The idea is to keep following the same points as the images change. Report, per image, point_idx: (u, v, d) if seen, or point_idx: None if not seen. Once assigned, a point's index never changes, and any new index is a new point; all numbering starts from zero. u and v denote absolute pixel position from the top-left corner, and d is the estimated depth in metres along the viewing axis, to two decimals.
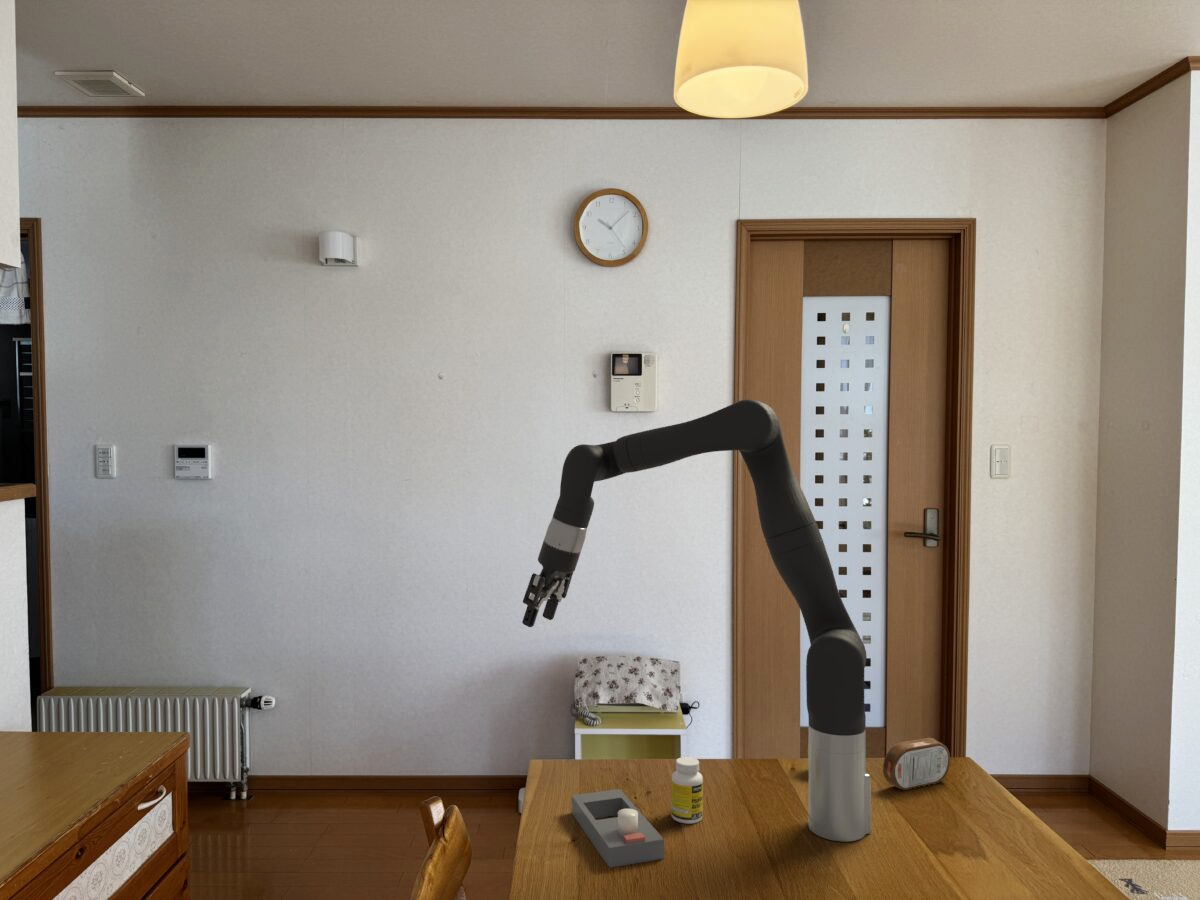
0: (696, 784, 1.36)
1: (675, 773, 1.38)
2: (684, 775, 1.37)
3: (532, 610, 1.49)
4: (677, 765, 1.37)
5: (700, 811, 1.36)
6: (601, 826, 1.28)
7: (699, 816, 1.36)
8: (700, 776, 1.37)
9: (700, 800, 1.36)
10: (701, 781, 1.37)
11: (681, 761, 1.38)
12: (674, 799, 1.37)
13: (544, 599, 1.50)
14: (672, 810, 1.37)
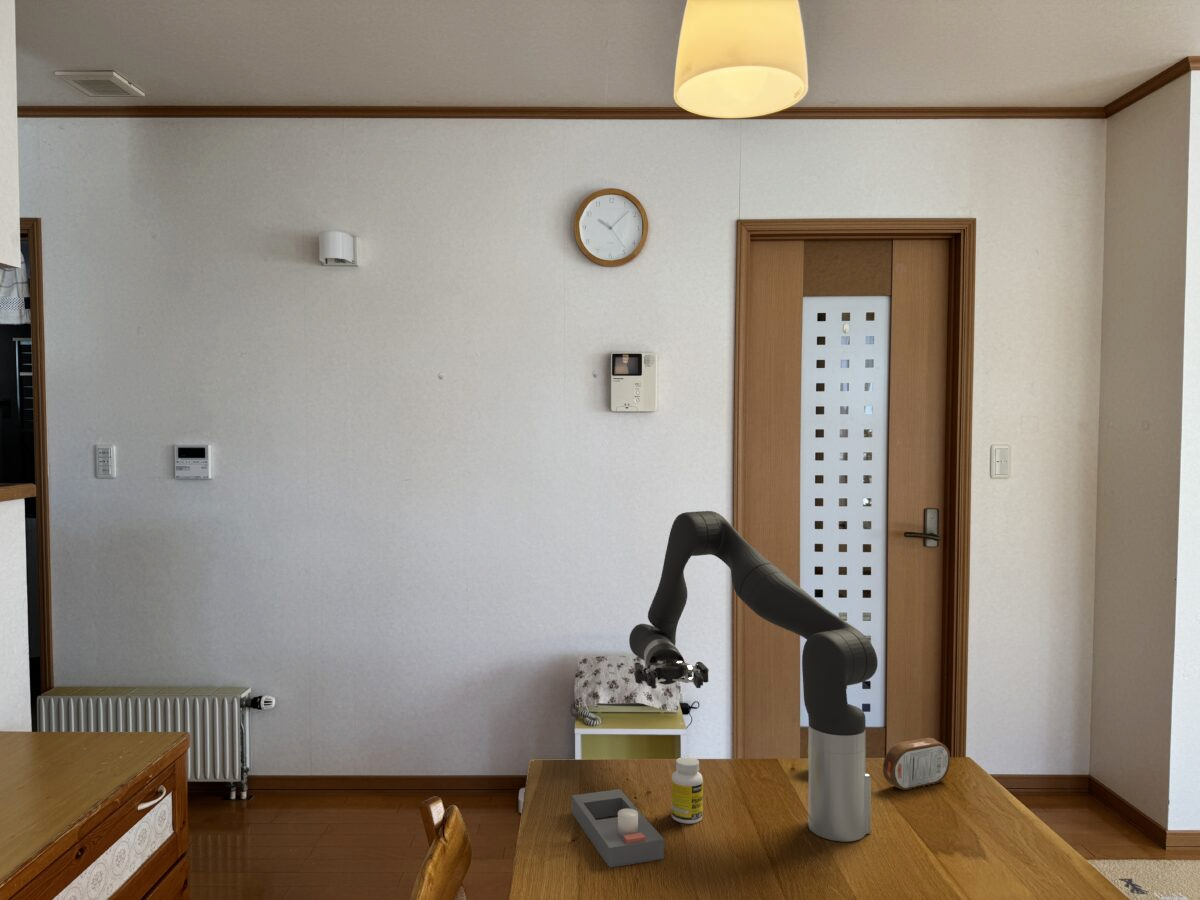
0: (696, 784, 1.36)
1: (675, 773, 1.38)
2: (684, 775, 1.37)
3: (645, 675, 1.52)
4: (677, 765, 1.37)
5: (700, 811, 1.36)
6: (601, 826, 1.28)
7: (699, 816, 1.36)
8: (700, 776, 1.37)
9: (700, 800, 1.36)
10: (701, 781, 1.37)
11: (681, 761, 1.38)
12: (674, 799, 1.37)
13: (653, 667, 1.55)
14: (672, 810, 1.37)
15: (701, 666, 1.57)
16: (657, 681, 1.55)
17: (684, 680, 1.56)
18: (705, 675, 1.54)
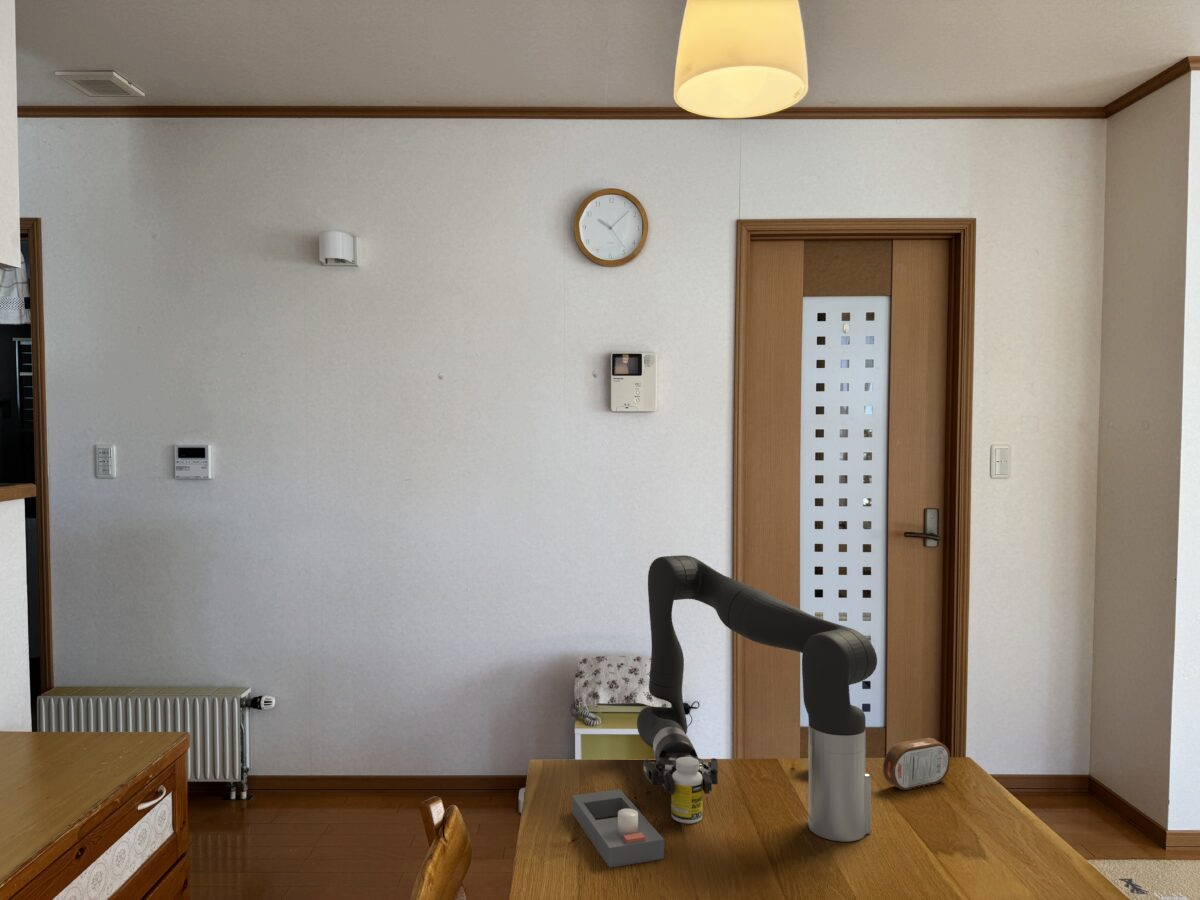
0: (696, 784, 1.36)
1: (675, 773, 1.38)
2: (684, 775, 1.37)
3: (663, 778, 1.39)
4: (677, 765, 1.37)
5: (700, 811, 1.36)
6: (601, 826, 1.28)
7: (699, 816, 1.36)
8: (700, 776, 1.37)
9: (700, 800, 1.36)
10: (701, 781, 1.37)
11: (681, 761, 1.38)
12: (673, 799, 1.37)
13: (668, 766, 1.41)
14: (672, 810, 1.37)
15: (712, 765, 1.43)
16: None
17: None
18: (713, 776, 1.40)
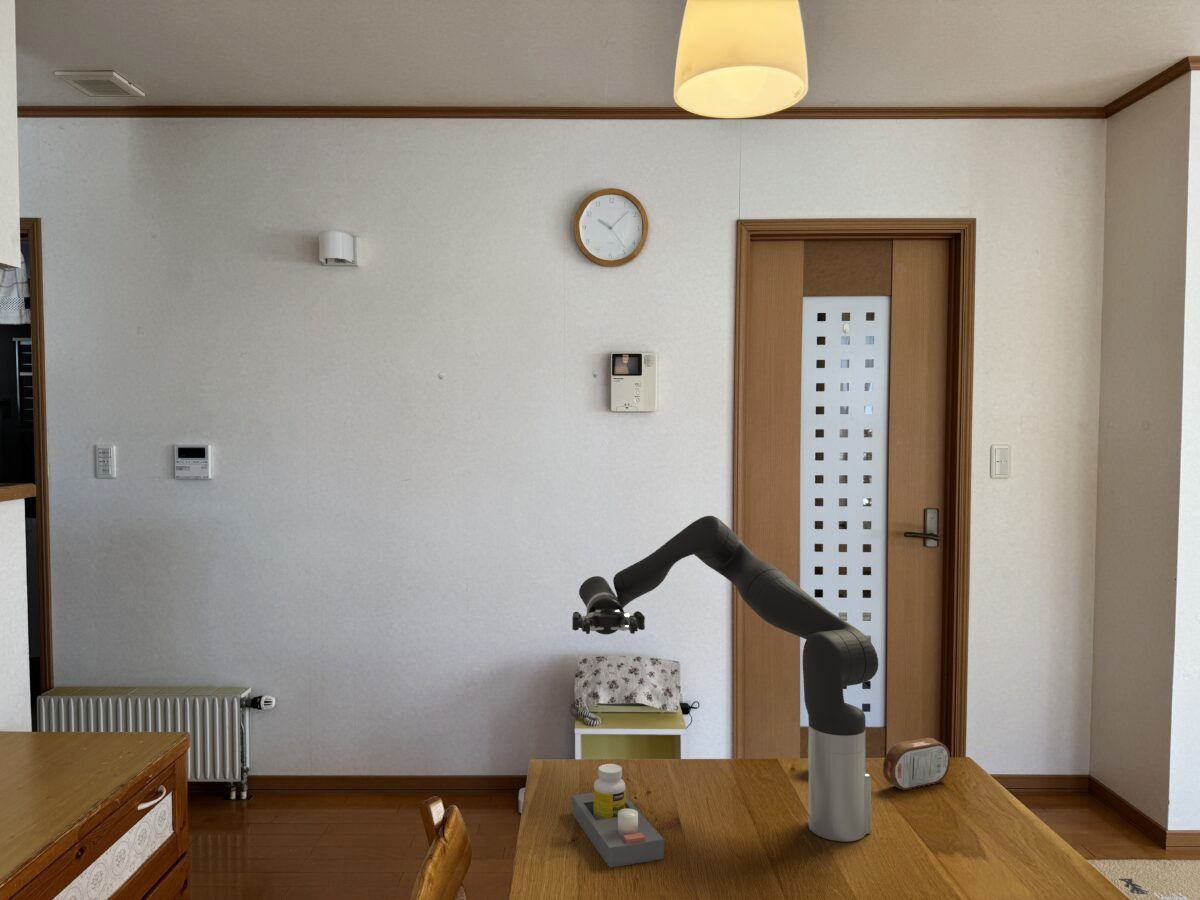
0: (617, 792, 1.32)
1: (597, 780, 1.35)
2: (605, 782, 1.33)
3: (581, 622, 1.54)
4: (599, 772, 1.34)
5: None
6: (601, 826, 1.28)
7: None
8: (622, 784, 1.34)
9: (622, 808, 1.33)
10: (623, 789, 1.33)
11: (603, 768, 1.35)
12: (595, 807, 1.33)
13: (590, 615, 1.57)
14: None
15: (638, 614, 1.59)
16: (594, 629, 1.57)
17: (621, 628, 1.57)
18: (641, 622, 1.56)
